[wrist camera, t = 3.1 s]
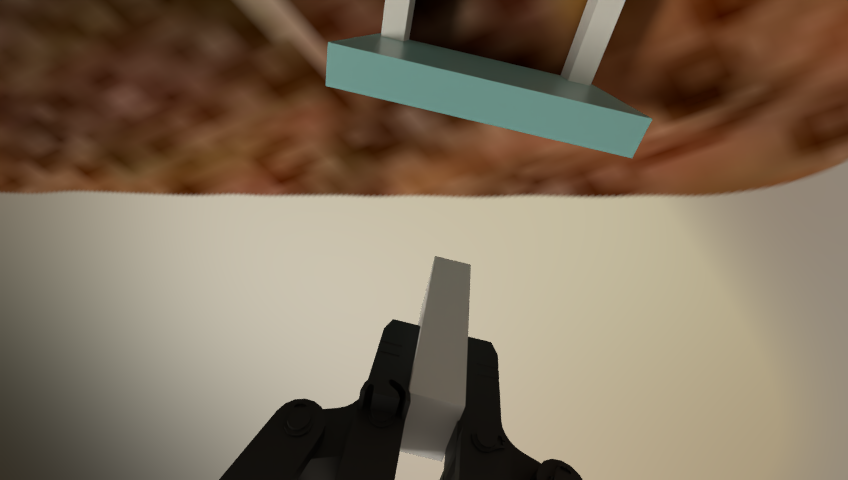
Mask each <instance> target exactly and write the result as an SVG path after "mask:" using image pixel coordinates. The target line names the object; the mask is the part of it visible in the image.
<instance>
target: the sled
mask: <svg viewBox="0 0 848 480" xmlns="http://www.w3.org/2000/svg"><path fill="white" fill-rule="evenodd" d="M624 3H625V0H588V2H587V4H586V7H585V10H584V12H583V15H582V18H581V21H580V23H579V26H578V29H577V32H576V34H575V37H574V40H573V42H572V45H571V48H570V51H569V53H568V56H567V59H566V61H565V64H564V67H563V70H562V72H561V75H557V74H552V73H548V72H544V71H540V70H536V69H531V68H527V67H523V66H519V65H514V64H510V63H506V62H502V61H498V60H493V59H489V58H485V57H481V56H476V55H472V54H468V53H464V52H460V51H455V50H451V49H447V48H443V47H438V46H434V45H430V44H426V43H422V42H417V41H413V40H409V38H410V31H411V25H412V19H413V12H414V6H415V0H385V7H384V15H383V23H382V31H381V33H379V34H373V35H367V36H361V37H355V38H349V39H344V40H338V41H332V42H328V51H327V70H326V86H329V87H333V88H337V89H341V90H345V91H350V92H354V93H358V94H362V95H367V96H371V97H375V98H379V99H384V100H388V101H392V102H396V103H400V104H405V105H409V106H413V107H417V108H422V109H426V110H430V111H434V112H439V113H443V114H447V115H451V116H455V117H460V118H464V119H468V120H472V121H477V122H481V123H485V124H489V125H494V126H498V127H502V128H506V129H511V130H515V131H519V132H523V133H527V134H532V135H536V136H540V137H544V138H549V139H553V140H557V141H561V142H566V143H570V144H574V145H578V146H582V147H587V148H591V149H595V150H599V151H604V152H608V153H612V154H616V155H621V156H625V157H629V158H632V157H633V155H634V153H635V152H636V150H637V148H638V146H639V144H640V142H641V140H642V138H643V136H644V134H645V132H646V130H647V128H648V126H649V125H650V123H651V121H652V118H650V117H648V116H646V115H645V114H643V113H641V112H639V111H638V110H636V109H634V108H632V107H631V106H629V105H627V104H626V103H624V102H622V101H620V100H619V99H617V98H615V97H613V96H612V95H610V94H608V93H606V92H605V91H603V90H601V89H599V88H598V87H596V86H594V85H592V84H591V83H592V81H593V78H594V76H595V73H596V71H597V68H598V66H599V64H600V61H601V59H602V56H603V54H604V51H605V49H606V47H607V44H608V42H609V39H610V37H611V34H612V32H613V30H614V27H615V25H616V22H617V20H618V17H619V15H620V13H621V10H622V8H623V5H624Z"/></svg>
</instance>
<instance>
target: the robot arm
mask: <svg viewBox="0 0 848 480" xmlns="http://www.w3.org/2000/svg"><path fill="white" fill-rule="evenodd" d="M470 266H471V265H470V264H465V263H461V262H457V261H453V260H449V259H444V258H441V257H437V256H435V258H434V262H433V266H432V270H431V274H430V277H429V281H428V285H427V289H426V293H425V297H424V300H423V304H422V309H421V314H420V318H419V323H418V325H414V324H410V323H406V322H402V321H398V320H392V321H391V322H390V323H389V324H388V325H387V326H386V327H385V328H384V330H383V334H382V337H381V340H380V343H379V346H378V350H377V353H376V356H375V359H374V362H373V366H372V369H371V372H370V375H369V378H368V380H367V381H366V382H365V383H364V385H363V387H362V388H361V391H360V396H359V399H358V400H357V401H355V402H354V403H353V404H350V405H348V406H346V407H341V408H332V409H322V408H321V406H319V405H318V404H317V403H316V402H314V401H311V400H308V399H297V400H296V399H295V400H293V401H290V402H288V403H285V404H284V405H283V406H282V407H281V408H279V410H277V411H276V413H275V414H274V415H273V416H272V417H271V418H270V420H269V421H268V422H267V423H266V424H265V426H264V427H263V428H262V429H261V430H260V431H259V433H258V434H257V435H256V436H255V438H254V439H253V440H252V441H251V442H250V443H249V445H248V446H247V447H246V448H245V449H244V451H243V452H242V453H241V454H240V455H239V457H238V458H237V459H236V460H235V461H234V463H233V464H232V465H231V466H230V467H229V469H228V470H227V471H226V472H225V473H224V475H223V476H222V477H221V478H220V479H219V480H394V479H395V474H396V468H397V463H398V457H399V452H400V451H401V452H405V453H409V454H413V455H418V456H421V457H426V458H430V459H434V460H438V461H442V460H443V458H444V455H445V463H444V471H443V473H442V475H441V478H440V480H582V478H581V477H580V475H579V474H578V473H577V472H576V471H575V470H574V469H573V468H572V467H571V466H570V465H568V464H566V463H564V462H562V461H560V460H555V459H550V460H546V461H544V462H543V463H542V464H541V463H539V462H538V461H536V460H534V459H533V458H531V457H529V456H528V455H526V454H524V453H523V452H521V451H520V450H518V449H517V448H516V447H515V446H514V445H513V444H512V443H511V442H510V441H509V439H508V438H507V436H506V435H505V433H504V430H503V428H502V423H501V408H500V390H499V371H498V355H497V353H496V351H495V349H494V347H493V345H492V343H491V342H488V341H484V340H480V339H475V338H471V337H468V320H469V294H470Z"/></svg>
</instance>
